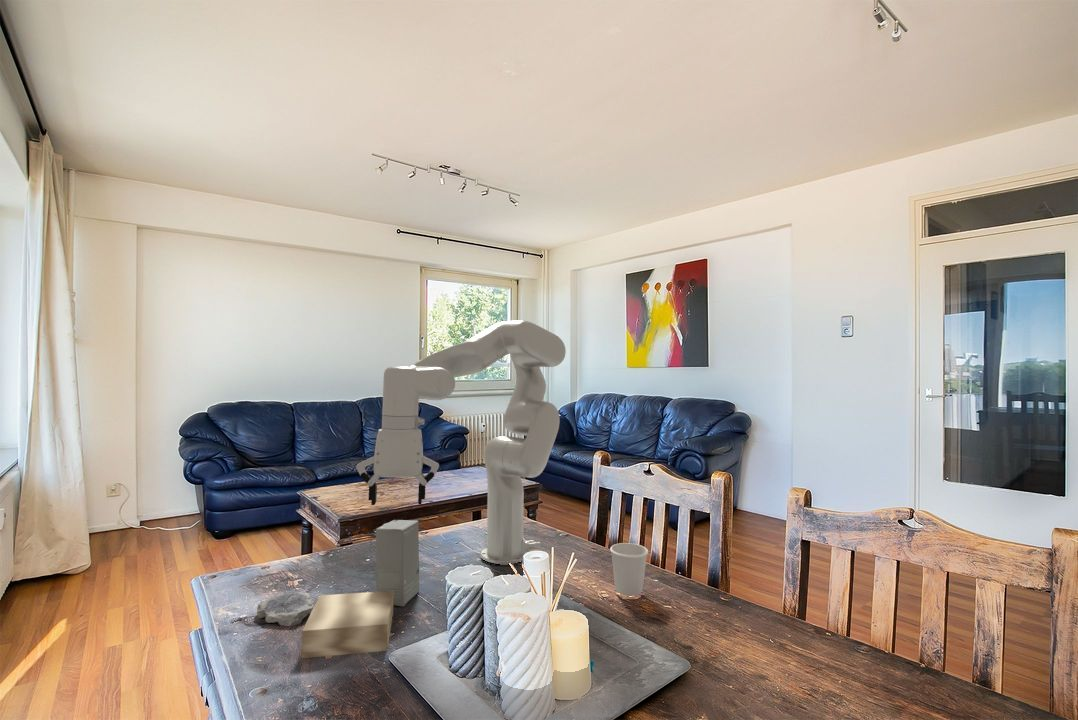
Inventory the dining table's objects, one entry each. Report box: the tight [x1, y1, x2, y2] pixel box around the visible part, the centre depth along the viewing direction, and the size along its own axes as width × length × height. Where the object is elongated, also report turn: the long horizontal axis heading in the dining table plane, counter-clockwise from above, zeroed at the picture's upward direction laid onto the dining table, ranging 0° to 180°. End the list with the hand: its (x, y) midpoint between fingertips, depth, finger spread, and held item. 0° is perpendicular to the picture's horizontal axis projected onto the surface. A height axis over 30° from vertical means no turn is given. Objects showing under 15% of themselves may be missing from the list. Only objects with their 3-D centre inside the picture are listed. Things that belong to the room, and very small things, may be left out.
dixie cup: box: [609, 542, 649, 596], centre depth 115 cm, size 8×8×10 cm
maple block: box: [301, 591, 394, 659], centre depth 97 cm, size 14×14×5 cm
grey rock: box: [256, 591, 315, 627], centre depth 104 cm, size 11×4×10 cm
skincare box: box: [375, 519, 420, 607], centre depth 112 cm, size 8×7×16 cm
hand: (397, 503), depth 112 cm, fingers open, 9 cm apart
